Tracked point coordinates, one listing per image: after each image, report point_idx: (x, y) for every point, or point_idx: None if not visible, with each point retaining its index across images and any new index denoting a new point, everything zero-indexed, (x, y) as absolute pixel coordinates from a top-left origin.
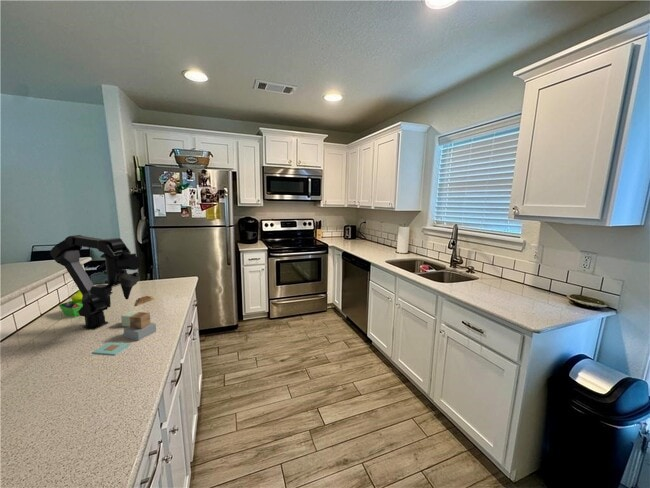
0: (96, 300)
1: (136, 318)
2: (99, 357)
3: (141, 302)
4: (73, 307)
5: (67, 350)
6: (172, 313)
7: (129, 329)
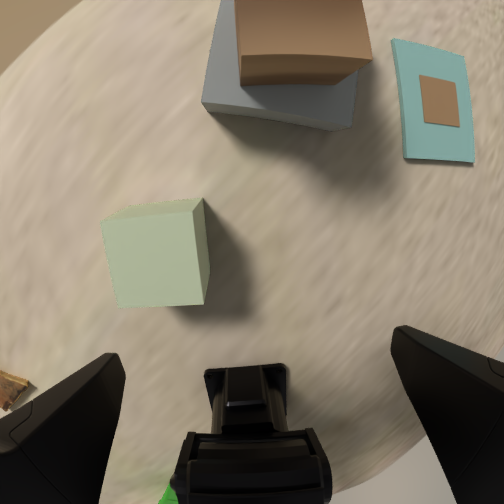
0: (298, 500)
1: (357, 1)
2: (482, 108)
3: (8, 378)
4: None
5: (457, 284)
6: (5, 127)
7: (350, 79)
